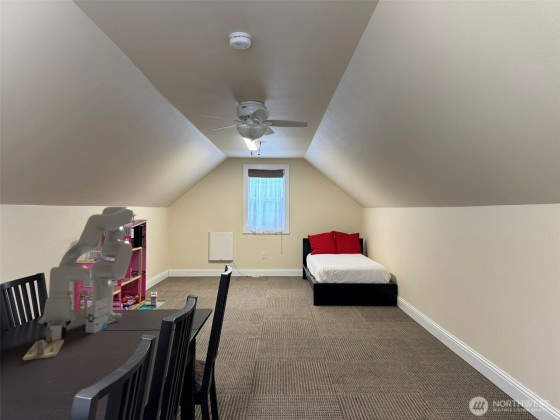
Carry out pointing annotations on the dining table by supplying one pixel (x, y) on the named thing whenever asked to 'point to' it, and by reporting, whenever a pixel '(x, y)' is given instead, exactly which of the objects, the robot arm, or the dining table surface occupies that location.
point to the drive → (56, 330)
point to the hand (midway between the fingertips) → (56, 335)
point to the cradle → (44, 348)
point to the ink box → (97, 316)
